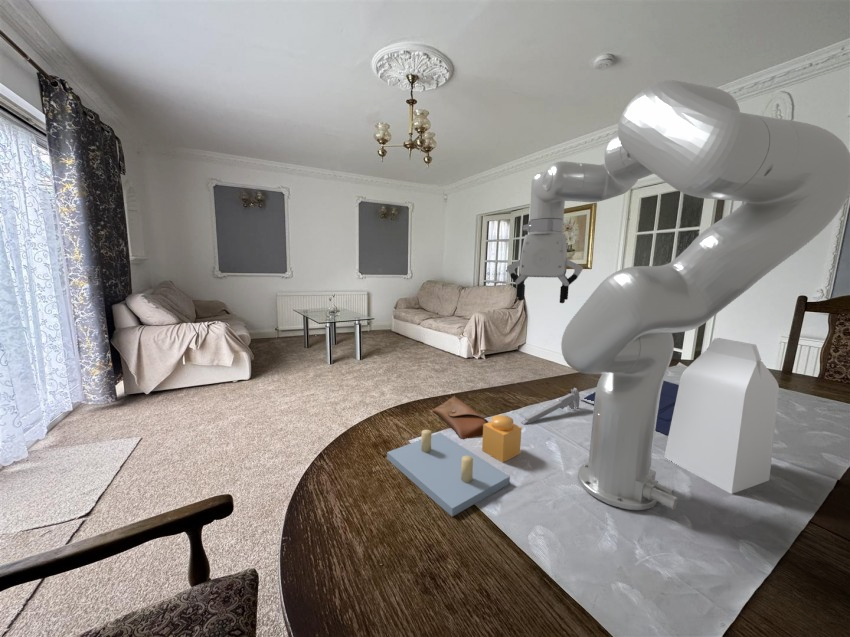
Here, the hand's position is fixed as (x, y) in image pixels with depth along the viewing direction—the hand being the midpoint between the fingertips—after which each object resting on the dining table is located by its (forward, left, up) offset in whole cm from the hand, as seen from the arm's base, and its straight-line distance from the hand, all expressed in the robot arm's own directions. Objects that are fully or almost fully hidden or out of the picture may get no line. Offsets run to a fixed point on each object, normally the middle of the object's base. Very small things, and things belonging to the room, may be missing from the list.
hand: (541, 301), depth 83 cm
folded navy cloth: (-14, -36, -31) cm, 50 cm away
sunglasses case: (+11, +15, -32) cm, 37 cm away
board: (-3, +32, -31) cm, 45 cm away
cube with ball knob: (-5, +18, -31) cm, 36 cm away
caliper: (-1, -7, -31) cm, 32 cm away
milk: (-34, -12, -31) cm, 48 cm away
